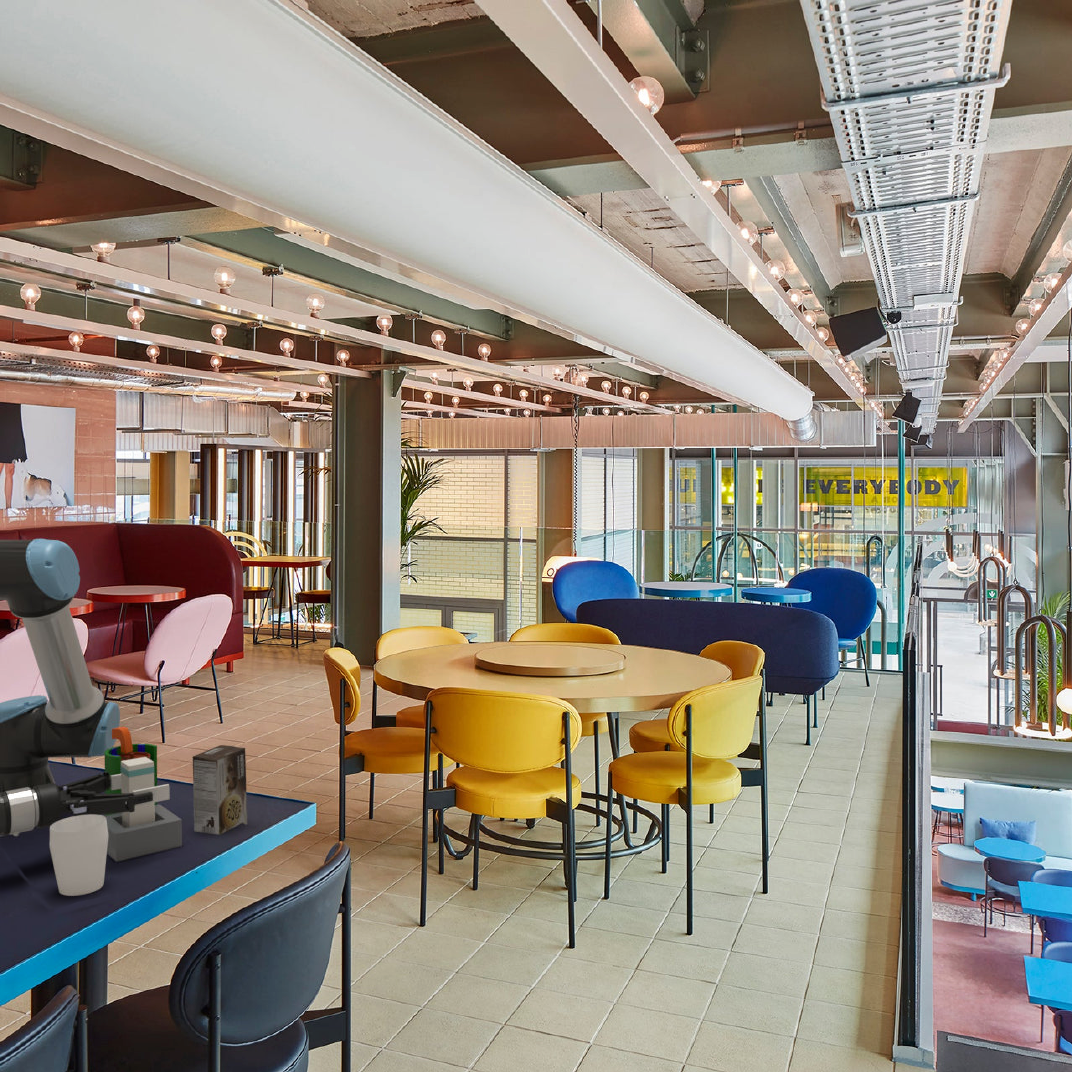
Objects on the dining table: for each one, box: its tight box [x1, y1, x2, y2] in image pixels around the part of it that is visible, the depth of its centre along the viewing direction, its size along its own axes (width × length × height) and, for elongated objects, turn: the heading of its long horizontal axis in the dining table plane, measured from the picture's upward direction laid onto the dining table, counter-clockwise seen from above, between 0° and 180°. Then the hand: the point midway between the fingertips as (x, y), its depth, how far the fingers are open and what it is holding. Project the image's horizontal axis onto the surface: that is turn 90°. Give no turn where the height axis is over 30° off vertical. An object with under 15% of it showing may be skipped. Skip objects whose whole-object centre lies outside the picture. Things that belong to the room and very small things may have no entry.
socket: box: [104, 803, 183, 862], centre depth 182 cm, size 12×12×6 cm
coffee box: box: [192, 744, 248, 835], centre depth 193 cm, size 9×6×16 cm
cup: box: [49, 814, 108, 897], centre depth 163 cm, size 9×9×12 cm
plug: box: [121, 757, 155, 828], centre depth 182 cm, size 5×5×16 cm
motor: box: [104, 726, 158, 816], centre depth 195 cm, size 10×9×20 cm
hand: (157, 783), depth 184 cm, fingers open, 12 cm apart
